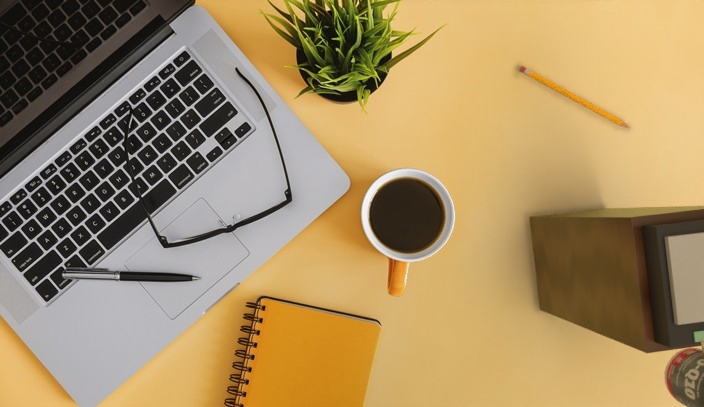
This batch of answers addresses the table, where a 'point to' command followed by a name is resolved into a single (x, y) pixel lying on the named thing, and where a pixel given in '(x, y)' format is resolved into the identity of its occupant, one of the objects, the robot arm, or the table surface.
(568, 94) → the pencil
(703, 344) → the robot arm
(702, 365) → the pill bottle
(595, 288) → the riser
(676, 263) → the scale
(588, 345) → the table surface
